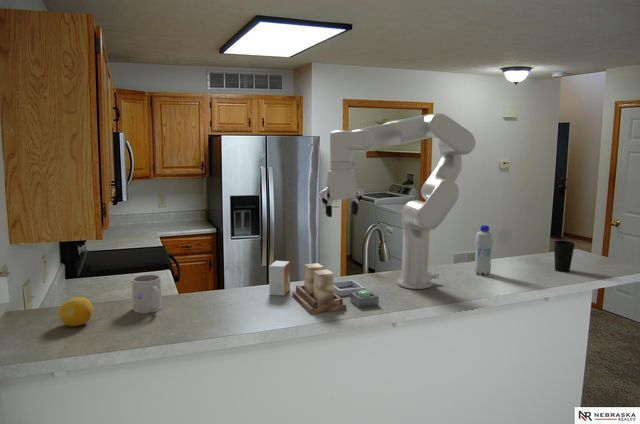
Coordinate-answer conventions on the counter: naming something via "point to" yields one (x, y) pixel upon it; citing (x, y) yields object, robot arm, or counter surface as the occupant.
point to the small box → (279, 278)
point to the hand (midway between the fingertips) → (341, 215)
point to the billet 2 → (323, 285)
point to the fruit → (76, 311)
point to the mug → (146, 293)
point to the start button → (364, 293)
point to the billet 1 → (310, 276)
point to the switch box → (364, 300)
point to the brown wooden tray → (317, 302)
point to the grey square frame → (347, 291)
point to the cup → (563, 255)
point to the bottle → (483, 251)
